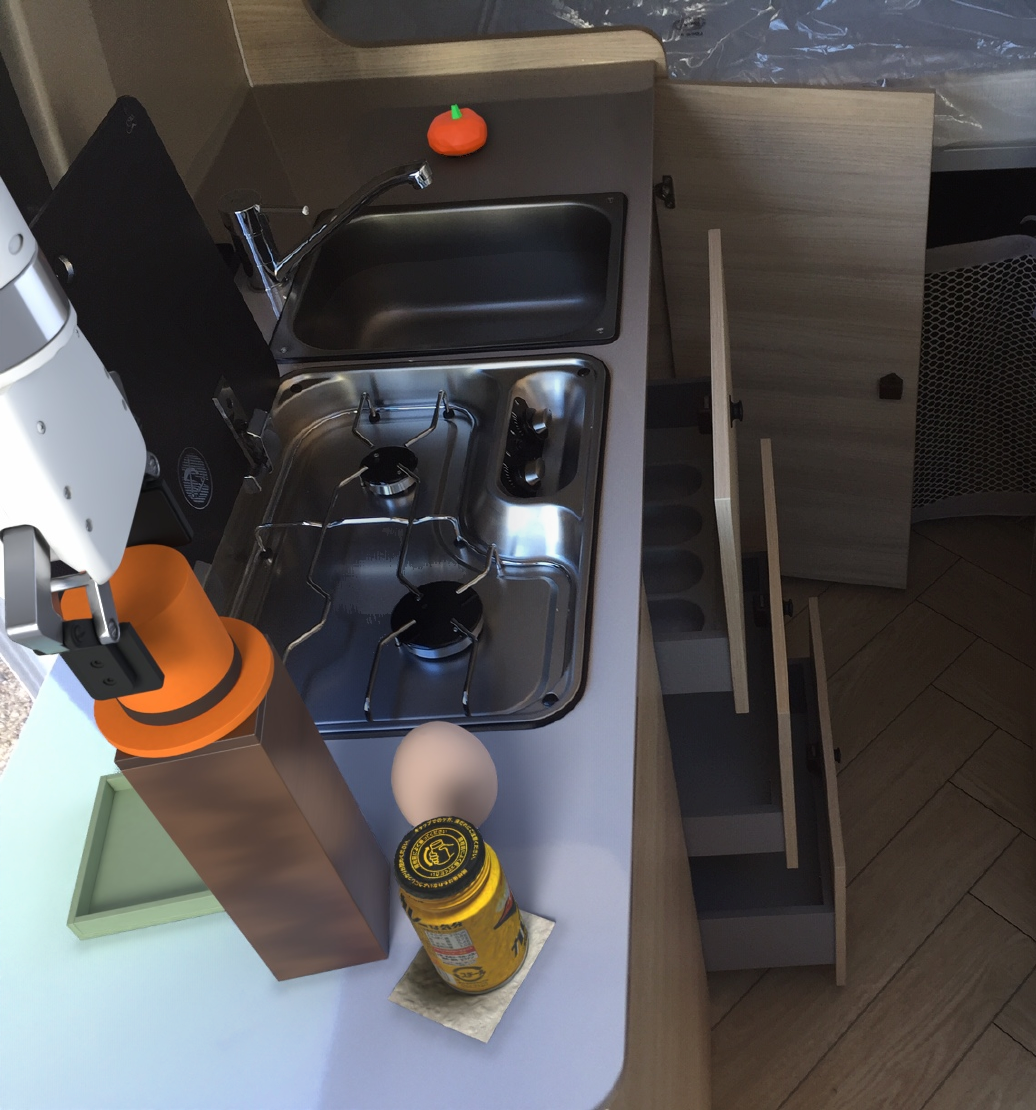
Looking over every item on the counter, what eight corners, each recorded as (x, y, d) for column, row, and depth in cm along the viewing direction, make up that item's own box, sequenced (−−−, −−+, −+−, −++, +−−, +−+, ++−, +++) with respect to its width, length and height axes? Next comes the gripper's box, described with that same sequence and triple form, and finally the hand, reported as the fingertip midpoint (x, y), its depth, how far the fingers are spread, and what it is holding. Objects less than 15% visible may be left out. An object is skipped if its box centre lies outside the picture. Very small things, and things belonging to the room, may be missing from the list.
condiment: (556, 924, 78) (518, 822, 70) (487, 1044, 73) (437, 950, 65) (462, 888, 81) (414, 785, 72) (388, 1002, 76) (328, 905, 67)
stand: (278, 982, 77) (112, 761, 60) (286, 885, 82) (136, 657, 65) (388, 958, 78) (255, 734, 61) (390, 864, 83) (267, 632, 66)
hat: (84, 775, 60) (7, 677, 54) (112, 642, 66) (46, 543, 61) (269, 736, 61) (211, 636, 55) (279, 608, 67) (228, 508, 62)
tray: (80, 940, 80) (65, 925, 79) (112, 792, 89) (100, 775, 87) (263, 903, 81) (251, 887, 80) (278, 760, 90) (268, 743, 88)
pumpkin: (422, 154, 159) (409, 106, 154) (476, 134, 162) (465, 87, 157) (447, 173, 154) (434, 124, 150) (502, 152, 157) (491, 104, 153)
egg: (413, 871, 82) (372, 790, 75) (412, 790, 87) (372, 706, 80) (513, 849, 83) (480, 766, 76) (506, 769, 87) (475, 685, 81)
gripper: (-77, 222, 52) (103, 511, 64) (-228, 477, 40) (28, 774, 52) (100, 193, 53) (245, 485, 65) (3, 435, 41) (204, 739, 53)
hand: (148, 613), depth 59 cm, fingers open, 9 cm apart
